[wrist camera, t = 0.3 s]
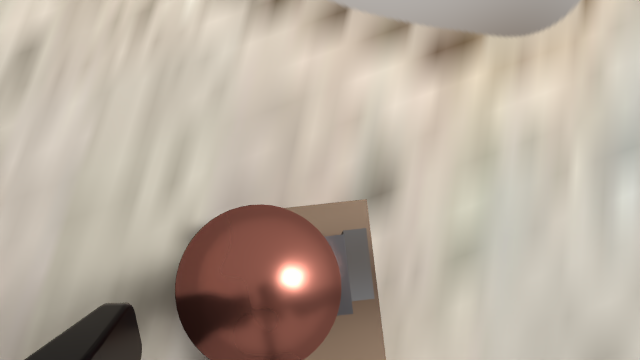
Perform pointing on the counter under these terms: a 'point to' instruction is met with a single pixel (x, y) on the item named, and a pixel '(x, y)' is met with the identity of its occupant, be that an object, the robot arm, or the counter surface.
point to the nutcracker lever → (261, 285)
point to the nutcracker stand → (351, 283)
